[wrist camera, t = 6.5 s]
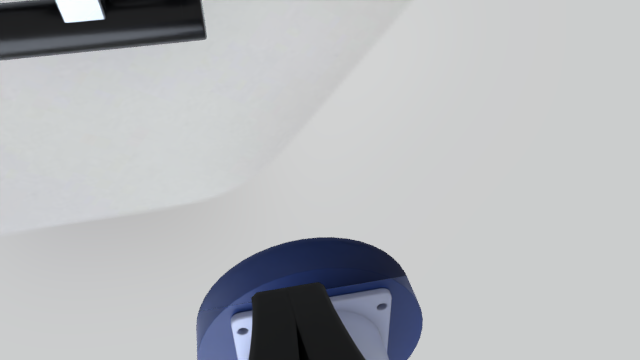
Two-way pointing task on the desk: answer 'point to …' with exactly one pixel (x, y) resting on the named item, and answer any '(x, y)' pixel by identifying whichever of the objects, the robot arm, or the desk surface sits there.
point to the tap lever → (95, 25)
